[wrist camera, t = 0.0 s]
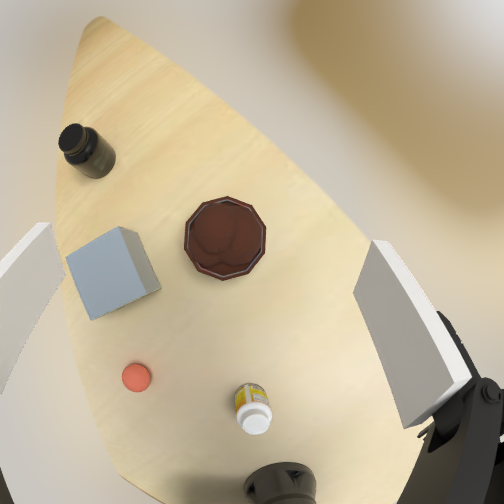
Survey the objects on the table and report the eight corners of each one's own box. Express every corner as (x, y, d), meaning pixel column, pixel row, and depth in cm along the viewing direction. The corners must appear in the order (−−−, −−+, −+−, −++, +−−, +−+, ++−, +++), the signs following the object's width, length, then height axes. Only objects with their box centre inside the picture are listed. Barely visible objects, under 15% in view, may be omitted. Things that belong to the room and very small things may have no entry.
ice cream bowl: (191, 275, 46) (174, 281, 31) (195, 207, 46) (181, 183, 31) (256, 278, 47) (269, 285, 32) (259, 211, 47) (273, 187, 32)
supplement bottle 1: (78, 168, 45) (46, 146, 33) (99, 139, 45) (72, 111, 33) (101, 185, 45) (69, 165, 33) (123, 154, 46) (97, 127, 34)
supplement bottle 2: (238, 411, 46) (240, 442, 35) (231, 385, 46) (232, 413, 35) (268, 405, 46) (277, 435, 36) (263, 379, 46) (271, 406, 36)
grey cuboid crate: (161, 288, 45) (146, 293, 37) (112, 311, 45) (90, 320, 36) (137, 232, 45) (118, 226, 37) (90, 258, 45) (65, 257, 36)
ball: (158, 380, 45) (151, 391, 40) (136, 388, 44) (127, 400, 39) (144, 356, 45) (136, 365, 40) (122, 365, 44) (112, 375, 39)
